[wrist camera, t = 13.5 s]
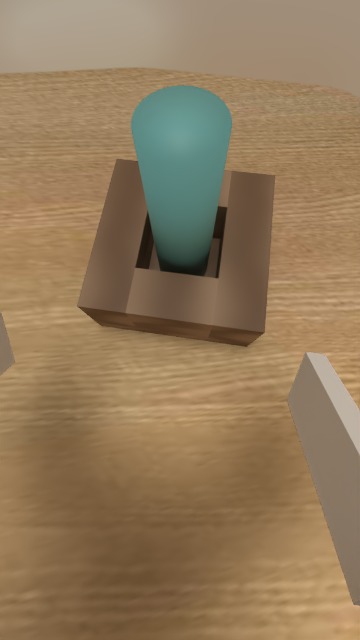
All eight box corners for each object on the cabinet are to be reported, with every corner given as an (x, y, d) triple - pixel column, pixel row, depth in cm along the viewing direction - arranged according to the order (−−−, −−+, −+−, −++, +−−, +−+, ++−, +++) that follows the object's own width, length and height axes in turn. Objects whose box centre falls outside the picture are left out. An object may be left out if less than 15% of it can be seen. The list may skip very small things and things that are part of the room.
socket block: (101, 325, 22) (76, 306, 17) (130, 204, 25) (116, 158, 20) (246, 346, 21) (264, 332, 16) (257, 218, 24) (275, 175, 19)
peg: (155, 283, 22) (121, 156, 10) (163, 240, 23) (141, 81, 11) (204, 289, 21) (226, 167, 10) (209, 246, 22) (236, 90, 11)
